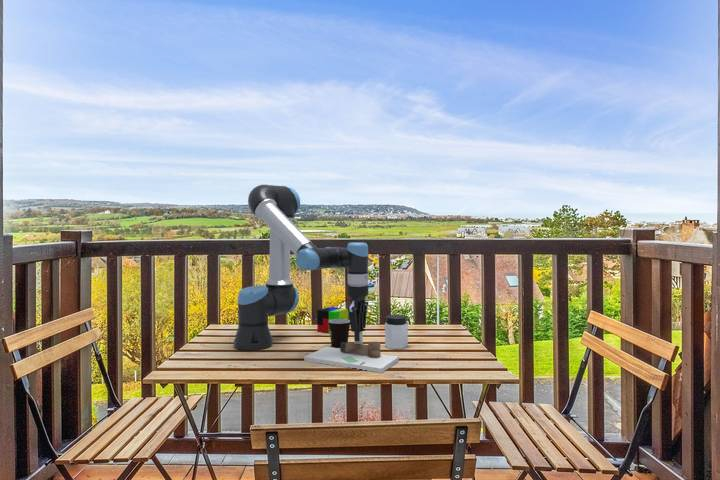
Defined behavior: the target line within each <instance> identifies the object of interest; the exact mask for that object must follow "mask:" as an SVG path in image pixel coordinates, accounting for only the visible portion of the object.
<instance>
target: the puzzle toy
mask: <svg viewBox="0 0 720 480" xmlns="http://www.w3.org/2000/svg"><path fill="white" fill-rule="evenodd" d="M316 315H317V316H316V317H317V319H316V323H317V326H316V327H317V329H316V330H317V332H318V333H322V334H329V335H330V329H329V320H333V319H346V320H349V312H348V309H347V308H342V307H336V306H335V307H334V306H329V307H325V308H320V309H317V314H316Z"/></svg>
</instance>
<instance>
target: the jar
mask: <svg viewBox="0 0 720 480" xmlns="http://www.w3.org/2000/svg"><path fill="white" fill-rule="evenodd" d="M407 318H408V317H407V315H403V314H388V315H386V316H385V323H384V346H385V347H386V348H387V349H390V350H403V349H406V348H408V345H409V343H408V341H409V340H408V339H409V337H408V334H409V333H408V332H409V331H408V327H409V324H408V322H407V321H408V320H407Z"/></svg>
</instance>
